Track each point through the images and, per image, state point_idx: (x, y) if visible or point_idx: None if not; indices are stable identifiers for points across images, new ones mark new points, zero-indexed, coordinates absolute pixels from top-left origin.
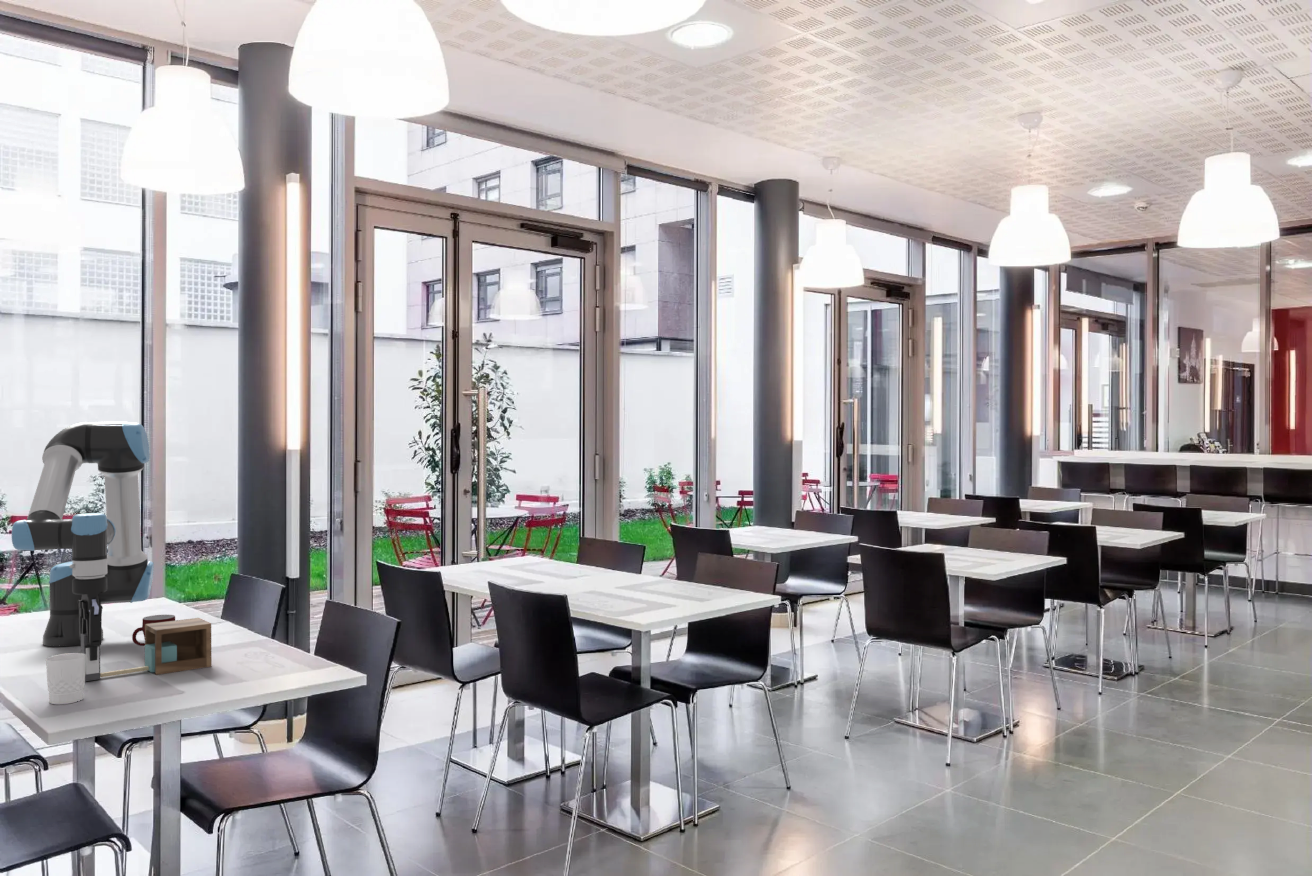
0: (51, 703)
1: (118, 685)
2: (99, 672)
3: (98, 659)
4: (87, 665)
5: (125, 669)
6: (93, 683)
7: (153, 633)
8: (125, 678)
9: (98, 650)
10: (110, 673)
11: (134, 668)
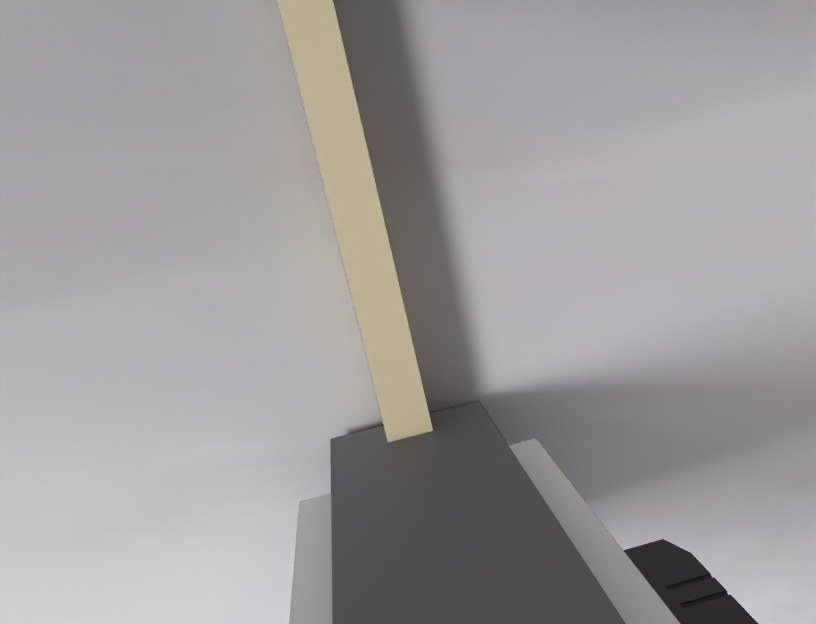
0: None
1: (794, 225)
2: (497, 434)
3: (595, 524)
4: None
5: (336, 154)
6: (576, 447)
7: None
8: (517, 158)
9: (670, 612)
10: (406, 316)
11: (325, 44)
